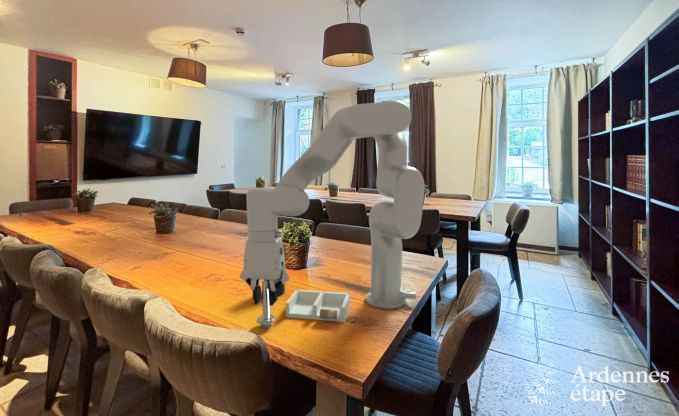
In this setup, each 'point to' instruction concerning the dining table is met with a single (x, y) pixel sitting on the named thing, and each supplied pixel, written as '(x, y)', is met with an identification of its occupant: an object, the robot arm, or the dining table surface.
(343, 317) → the rack
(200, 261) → the dining table surface
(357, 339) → the dining table surface
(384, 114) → the robot arm
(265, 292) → the screw
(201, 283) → the dining table surface
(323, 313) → the cork
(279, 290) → the supplement bottle
